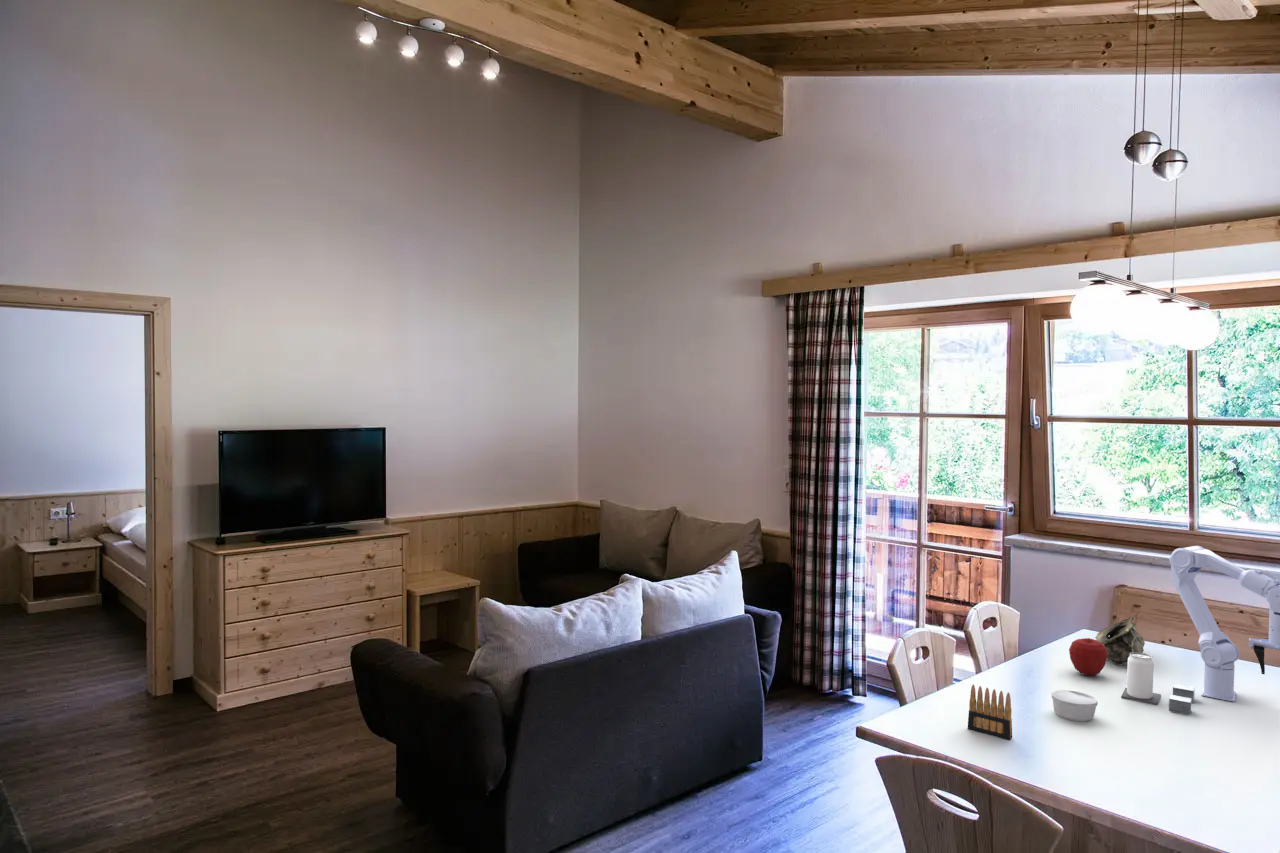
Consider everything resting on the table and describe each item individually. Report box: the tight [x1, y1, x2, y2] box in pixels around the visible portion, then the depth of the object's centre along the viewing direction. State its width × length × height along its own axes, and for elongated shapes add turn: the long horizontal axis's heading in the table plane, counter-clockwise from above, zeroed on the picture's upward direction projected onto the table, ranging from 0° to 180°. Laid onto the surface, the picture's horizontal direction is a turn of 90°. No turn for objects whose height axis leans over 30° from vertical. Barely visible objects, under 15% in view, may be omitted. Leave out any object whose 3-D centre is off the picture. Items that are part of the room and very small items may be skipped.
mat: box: [1120, 687, 1162, 706], centre depth 244 cm, size 9×9×1 cm
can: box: [1126, 652, 1154, 699], centre depth 243 cm, size 6×6×12 cm
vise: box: [1168, 683, 1196, 716], centre depth 238 cm, size 17×5×4 cm, turn 143°
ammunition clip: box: [967, 684, 1013, 741], centre depth 216 cm, size 11×2×12 cm, turn 50°
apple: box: [1068, 637, 1108, 677], centre depth 263 cm, size 11×11×12 cm
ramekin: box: [1051, 689, 1099, 722], centre depth 229 cm, size 11×11×5 cm
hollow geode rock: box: [1094, 617, 1146, 666], centre depth 280 cm, size 28×13×15 cm
